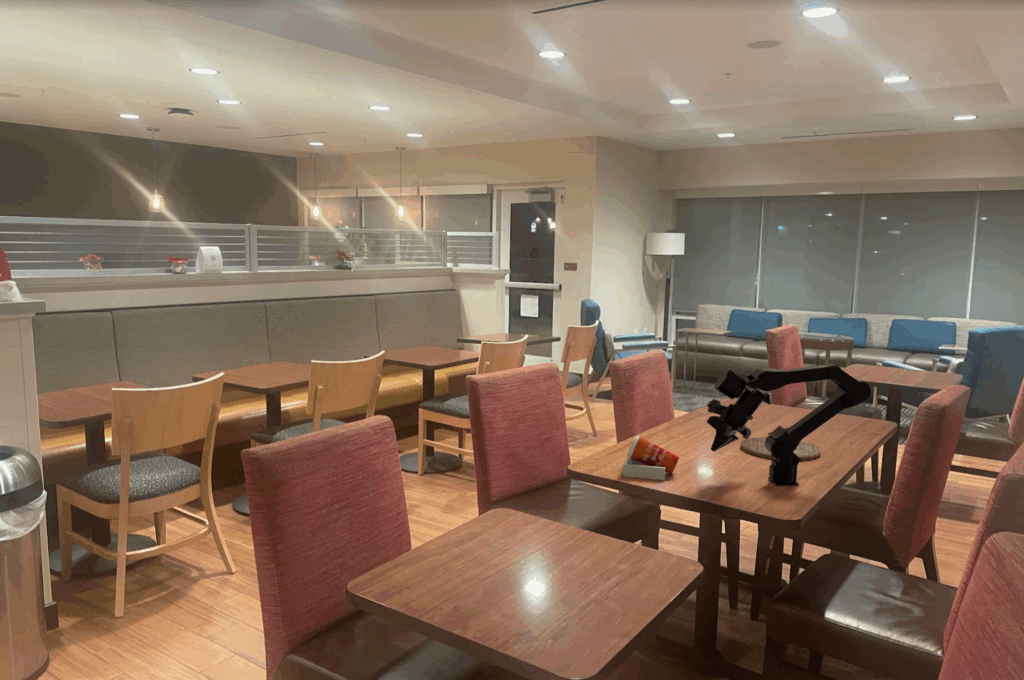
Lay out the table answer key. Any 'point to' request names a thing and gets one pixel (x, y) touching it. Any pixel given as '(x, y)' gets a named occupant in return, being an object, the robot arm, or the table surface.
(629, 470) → the tray
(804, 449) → the trivet
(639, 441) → the paper cup
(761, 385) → the robot arm
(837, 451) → the table surface
